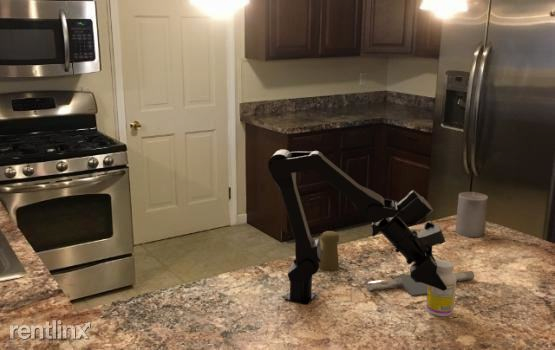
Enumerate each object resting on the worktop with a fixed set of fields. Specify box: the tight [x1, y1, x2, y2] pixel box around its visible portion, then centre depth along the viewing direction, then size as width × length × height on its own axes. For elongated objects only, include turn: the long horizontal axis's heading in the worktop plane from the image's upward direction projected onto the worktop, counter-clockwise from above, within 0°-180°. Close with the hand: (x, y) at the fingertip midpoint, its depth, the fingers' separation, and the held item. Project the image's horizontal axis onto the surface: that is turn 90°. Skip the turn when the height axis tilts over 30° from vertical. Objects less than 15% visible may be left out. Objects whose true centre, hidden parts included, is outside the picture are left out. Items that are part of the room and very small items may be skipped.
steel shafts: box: [365, 270, 475, 291], centre depth 155 cm, size 32×2×2 cm, turn 105°
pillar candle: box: [454, 191, 489, 238], centre depth 195 cm, size 10×10×15 cm
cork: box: [319, 230, 340, 273], centre depth 164 cm, size 6×6×11 cm
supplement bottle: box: [425, 259, 457, 317], centre depth 139 cm, size 7×7×13 cm
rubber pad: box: [391, 273, 428, 297], centre depth 155 cm, size 12×12×1 cm
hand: (443, 281), depth 139 cm, fingers open, 9 cm apart
